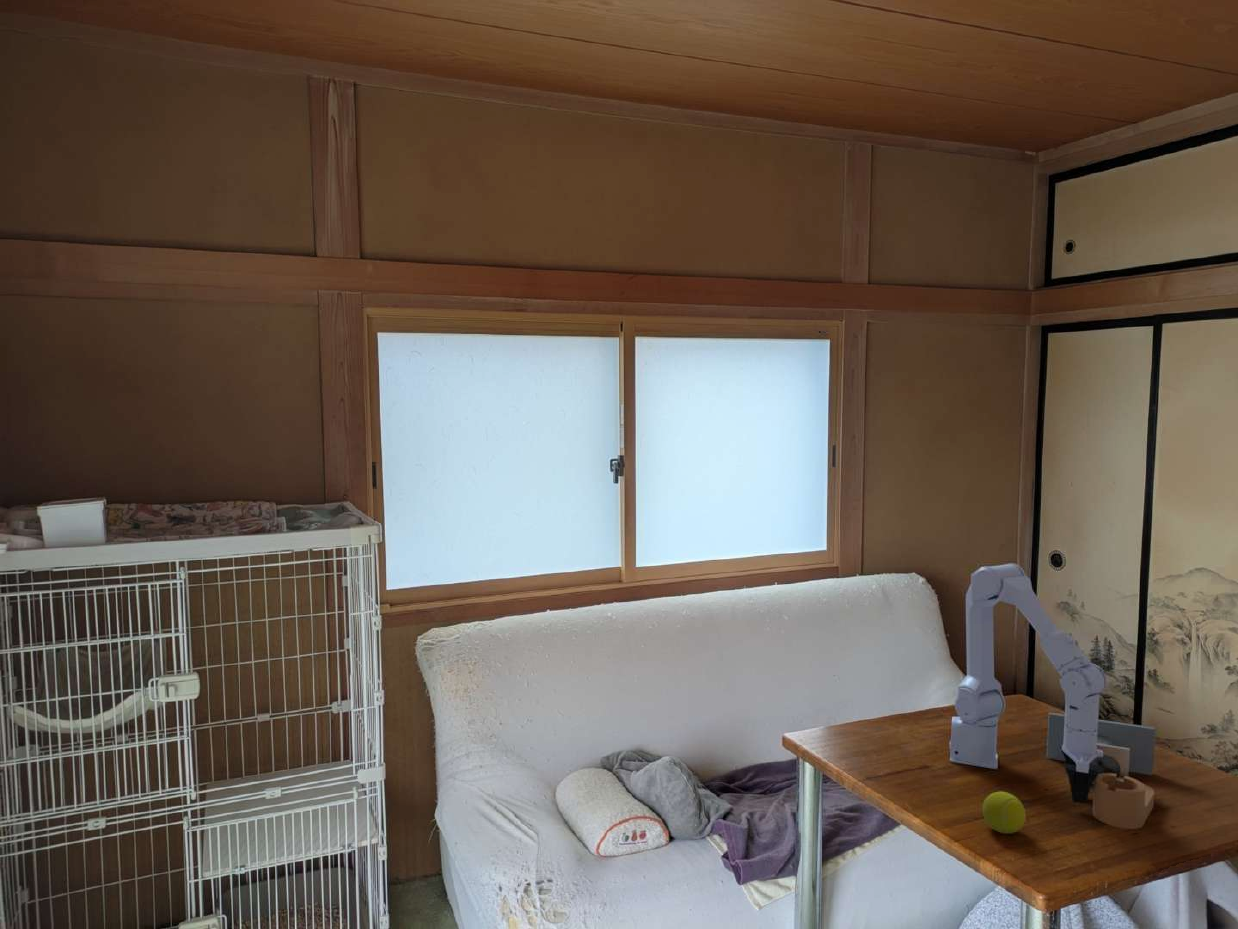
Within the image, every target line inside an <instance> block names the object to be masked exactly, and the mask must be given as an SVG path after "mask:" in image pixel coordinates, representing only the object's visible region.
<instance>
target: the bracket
mask: <svg viewBox="0 0 1238 929" xmlns="http://www.w3.org/2000/svg"><path fill="white" fill-rule="evenodd" d="M1154 803H1155V791H1154V789H1153V788H1152V787H1150V786H1149V785H1147V784H1145V783H1143V782H1141V781H1139V780H1138V779H1136V778H1133V777H1130V776H1129V775H1128V776H1125V777H1124V778H1117V774H1114V773H1101V774H1098V776H1097V778H1096V779H1095V780H1094V784H1093V799H1092V815H1093V817H1094V818H1095V819H1097V820H1098V821H1099V822H1102V823H1104V824H1107V825H1108V826H1111V827H1115V828H1119V829H1120V828H1121V829H1125V830H1136V829H1140V828H1143V827H1144V825H1145V823H1146V821H1147V819H1148V818H1149V815H1150V814H1151V812H1152V811H1153V809H1154Z"/></svg>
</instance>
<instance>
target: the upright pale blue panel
mask: <svg viewBox="0 0 1238 929" xmlns="http://www.w3.org/2000/svg"><path fill="white" fill-rule="evenodd" d="M1047 723H1048V724H1047V744H1046V759H1051V760H1055V761H1056V760H1057V761H1062V762H1063V761H1064V762H1066V760H1065V757H1064V755H1063V753H1062V750H1061V748H1062V745H1063V742H1064V724H1065V713H1064V714H1063V713H1055V712H1048V721H1047ZM1155 735H1156V728H1155V727H1153V726H1146V725H1140V724H1139V725H1138V724H1134V723H1127V722H1119V721H1113V720H1112V721H1111V720H1105V719H1099V718H1098V731H1097V750H1102V751H1103V757H1096V758H1095V759H1094V760H1093V761H1092V762H1091V763H1090V764H1089V769H1091V770H1097V771H1098V774H1101V773H1114V774H1117V778H1124V777H1125V776H1128V777H1129V773H1135V774H1141V775H1142V774H1143V775H1148V776H1153V771H1154V755H1155V753H1154V752H1155V741H1156V740H1155V739H1156V738H1155V737H1156V736H1155ZM1092 785H1094V782H1093V783H1092Z"/></svg>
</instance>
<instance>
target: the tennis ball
mask: <svg viewBox="0 0 1238 929" xmlns="http://www.w3.org/2000/svg"><path fill="white" fill-rule="evenodd" d="M981 810H982V816H983V819H984V821H985V822H986V824H987V825H988V826H989V827H990V828H991V829H992V830H994V831H996V832H998V833H1001V834H1004V835H1005V834H1007V835H1009V834H1014V833H1016V832H1018V831H1020V830H1021V828H1023V826H1024V824H1025V822H1026V818H1027V817H1026V809H1025V807H1024V804H1023V803H1022V801H1020V800H1019V798H1018V797H1016V796H1015V795H1013V794H1012V793H1010V792H1009V793H1008V792H1007V791H997V792H996V791H995V792H992V793H990V794H989V795H988V796H986V797H985V799H984V801H983V804H982V808H981Z"/></svg>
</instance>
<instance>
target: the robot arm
mask: <svg viewBox="0 0 1238 929" xmlns="http://www.w3.org/2000/svg"><path fill="white" fill-rule="evenodd" d="M999 602H1002V603H1006V604H1010V605H1014V606H1016V607H1017V609H1018V610H1019V611H1020V612H1021V614H1022V615H1023V616H1024V618H1025V619H1026V620H1027V621H1028V622H1029V623H1030V625H1031V627H1032V628H1033V629H1034V630H1035V632H1036V633H1037V634H1038V635H1039V636H1040V644H1039V646H1040V648H1041V649H1042V650H1043V653H1044V654H1045V655H1046V657H1047V658H1048V659H1049V661H1050V662H1051V664H1052V665H1053V666H1054V668H1055V670H1056V671H1057V673H1058V674H1059V675H1060V676H1061V678H1059V684H1060V687H1061V690H1062V691H1063V692H1064V701H1065V706H1064V715H1065V724H1064V742H1063V745H1062V748H1061V750H1062V753H1063V755H1064V757H1065V760H1066V761H1065V763H1064V766H1063V767H1064V771H1065V772H1066V775H1067V776H1068V782H1069V786H1070V792H1071V799H1072V802H1074V803H1078V804H1083V805H1085V804H1087V803H1086V802H1087V799H1088V797H1089V794H1090V789H1091V788H1092V785H1093V784H1092V783H1093V782H1094V780H1095V779H1096V778H1097V776H1098V771H1097V770H1091V769H1089V764H1090V763H1091V762H1092V761H1093V760H1094V759H1095V758H1096V757H1103V751H1102V750H1097V731H1098V719H1099V710H1100V708H1099V707H1100V693H1101V692H1103V691H1104V690H1105V689H1106V687H1107V678H1106V675H1105V673H1104V671H1103V669H1102V668H1101V667H1100V666H1098V665H1097V664H1095V663H1092V662H1090V661H1089V659H1088V658H1086V656H1085V655H1084V654H1083V653H1082V652H1081V650H1080V649H1079V647H1078V646H1077V644H1076V643H1075V642H1076V639H1075V638H1074V637H1073V636H1072V635H1069V633H1068V632H1066V631H1064V630H1061V629H1058V628H1057V627H1056V625H1055V624H1054V622H1053V621H1052V619H1051V617H1050V615H1049V614H1048V613H1047V610H1046V609H1045V608H1044V606H1043V605H1042V603H1041V601H1040V600H1039V598H1038V596H1037V594H1035V591H1034V589H1033V586H1032V581H1031V579H1030V578H1029V577H1028V575H1026V572H1025V571H1024V569H1023V568H1022V567H1021V566H1020V565H1018V564H1016V563H1005V564H1001V565H1000V564H999V565H993V566H992V565H991V566H982V567H979V568H978V569H977V570H975V571H974V572H973V573H971V575H970V584H969V587H968V590H967V592H966V594H965V629H966V630H965V632H966V634H965V636H966V644H965V645H966V676H965V677H964V678H963V680H962V681H961V682H960V683H959V685H958V686H957V687H958V688H957V690H958V693H957V696H956V698H955V699H954V709H955V711H956V713H957V715H958V716H952V718H951V732H950V733H951V734H950V740H949V746H948V748H949V751H950V756H949V757H950V758H949V761H950V762H952V763H957V764H964V765H969V766H975V767H981V768H986V769H993V770H998V767H999V766H998V762H999V761H998V760H999V758H998V754H997V738H998V737H997V736H998V734H997V733H998V721H999V720H1000V716H1001V715H1002V714H1003V713H1004V712H1005V710H1006V699H1005V697H1004V695H1003V691H1002V684H1001V682H999V680H997V679H996V677H995V659H994V658H995V654H994V652H995V649H994V646H995V644H994V643H995V642H994V606H995V605H996V604H998V603H999Z"/></svg>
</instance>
